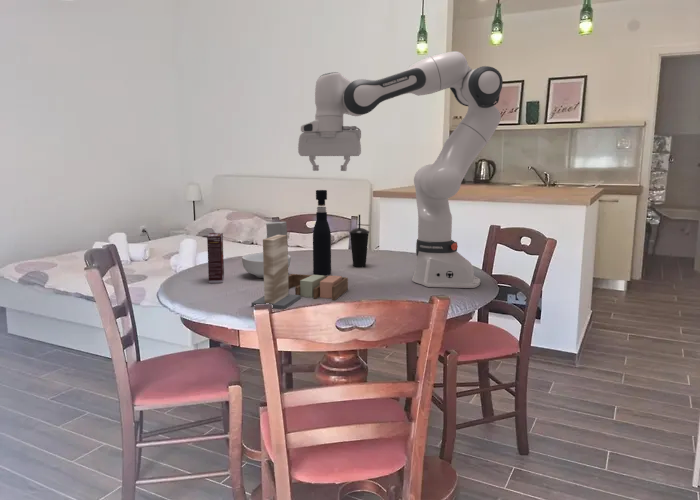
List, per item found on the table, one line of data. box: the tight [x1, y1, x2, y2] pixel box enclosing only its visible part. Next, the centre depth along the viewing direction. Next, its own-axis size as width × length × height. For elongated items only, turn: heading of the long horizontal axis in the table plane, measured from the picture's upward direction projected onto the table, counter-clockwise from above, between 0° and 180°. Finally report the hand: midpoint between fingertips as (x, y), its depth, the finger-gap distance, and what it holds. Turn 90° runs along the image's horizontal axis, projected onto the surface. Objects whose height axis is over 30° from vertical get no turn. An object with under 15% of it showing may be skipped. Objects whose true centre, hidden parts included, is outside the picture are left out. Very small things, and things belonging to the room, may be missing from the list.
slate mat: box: [251, 293, 302, 310], centre depth 156 cm, size 10×12×1 cm
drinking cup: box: [348, 214, 370, 268], centre depth 206 cm, size 8×8×20 cm
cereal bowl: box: [241, 251, 292, 279], centre depth 191 cm, size 17×17×7 cm
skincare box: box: [265, 221, 288, 238], centre depth 218 cm, size 8×7×16 cm
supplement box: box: [206, 232, 225, 284], centre depth 183 cm, size 9×5×16 cm, turn 9°
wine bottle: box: [312, 189, 332, 276], centre depth 192 cm, size 6×6×30 cm
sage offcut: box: [300, 274, 325, 298], centre depth 166 cm, size 4×9×5 cm, turn 157°
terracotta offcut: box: [319, 275, 343, 299], centre depth 165 cm, size 4×9×5 cm, turn 163°
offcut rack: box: [288, 273, 349, 301], centre depth 167 cm, size 19×13×4 cm
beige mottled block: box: [262, 234, 290, 304], centre depth 155 cm, size 3×10×18 cm, turn 163°
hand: (329, 170), depth 172 cm, fingers open, 8 cm apart
